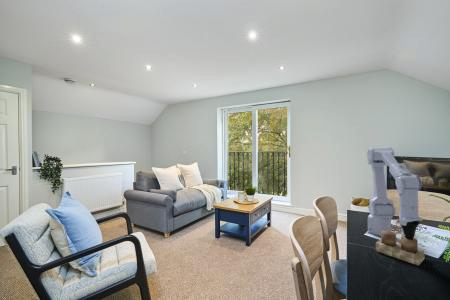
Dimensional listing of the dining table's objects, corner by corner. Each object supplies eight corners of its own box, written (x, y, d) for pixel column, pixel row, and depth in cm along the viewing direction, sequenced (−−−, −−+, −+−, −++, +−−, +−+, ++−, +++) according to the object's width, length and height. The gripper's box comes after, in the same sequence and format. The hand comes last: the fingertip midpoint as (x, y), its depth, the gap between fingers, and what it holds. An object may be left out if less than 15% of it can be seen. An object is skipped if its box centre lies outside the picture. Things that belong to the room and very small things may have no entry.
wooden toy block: (375, 250, 90) (375, 232, 90) (382, 245, 94) (382, 228, 94) (418, 265, 79) (418, 244, 78) (424, 258, 83) (424, 239, 83)
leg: (415, 261, 80) (414, 242, 80) (398, 256, 85) (398, 237, 85) (420, 257, 83) (419, 239, 83) (404, 252, 87) (403, 234, 87)
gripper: (415, 211, 76) (416, 248, 76) (427, 203, 84) (428, 237, 84) (392, 207, 82) (393, 241, 82) (405, 200, 90) (406, 231, 90)
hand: (409, 238), depth 83 cm, fingers closed
